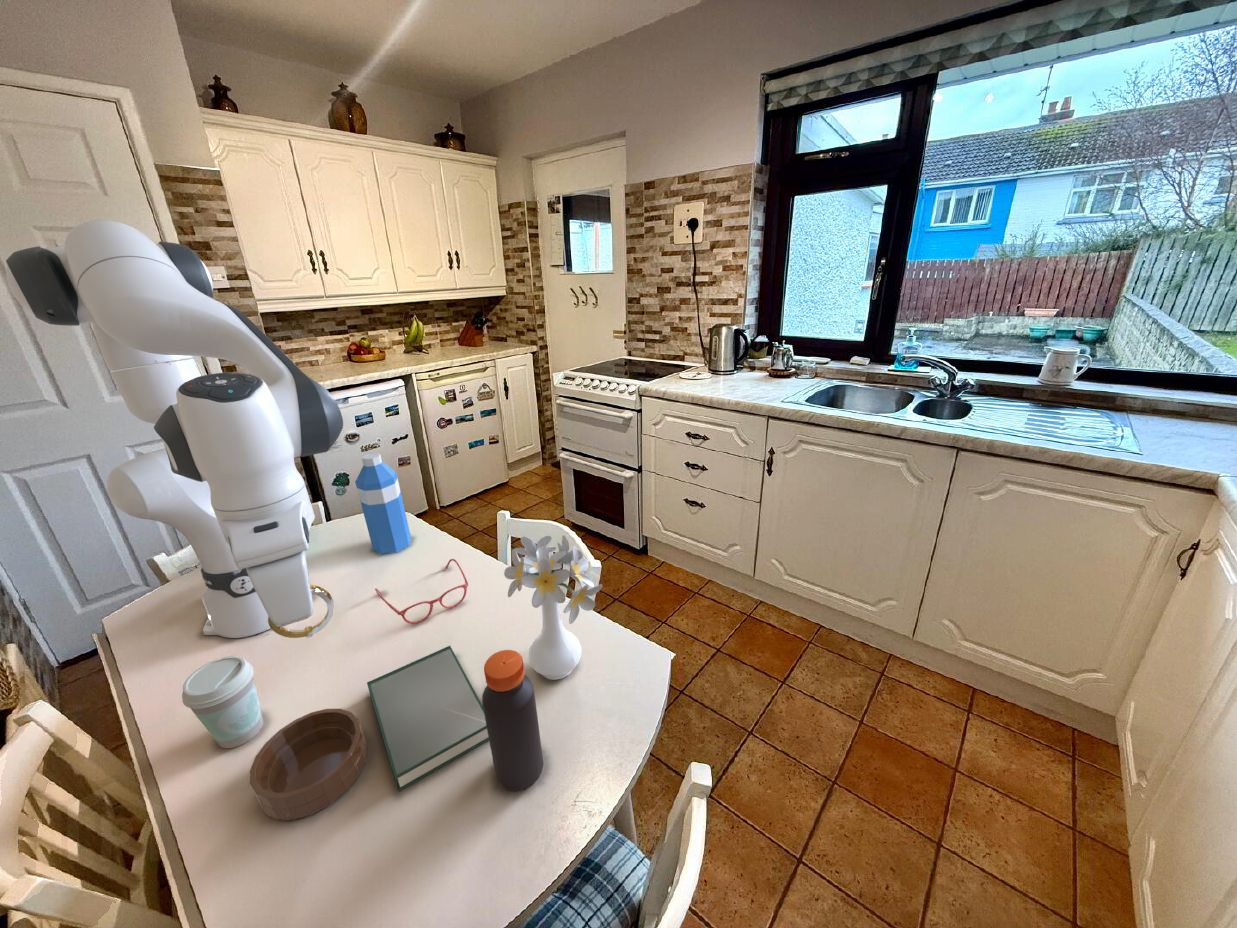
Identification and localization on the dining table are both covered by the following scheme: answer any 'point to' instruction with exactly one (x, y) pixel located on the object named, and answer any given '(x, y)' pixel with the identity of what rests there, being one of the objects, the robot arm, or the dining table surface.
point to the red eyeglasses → (431, 600)
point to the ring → (309, 630)
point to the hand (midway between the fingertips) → (301, 610)
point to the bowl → (308, 764)
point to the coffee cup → (225, 700)
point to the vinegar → (512, 721)
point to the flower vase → (552, 601)
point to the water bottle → (382, 505)
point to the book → (427, 715)
